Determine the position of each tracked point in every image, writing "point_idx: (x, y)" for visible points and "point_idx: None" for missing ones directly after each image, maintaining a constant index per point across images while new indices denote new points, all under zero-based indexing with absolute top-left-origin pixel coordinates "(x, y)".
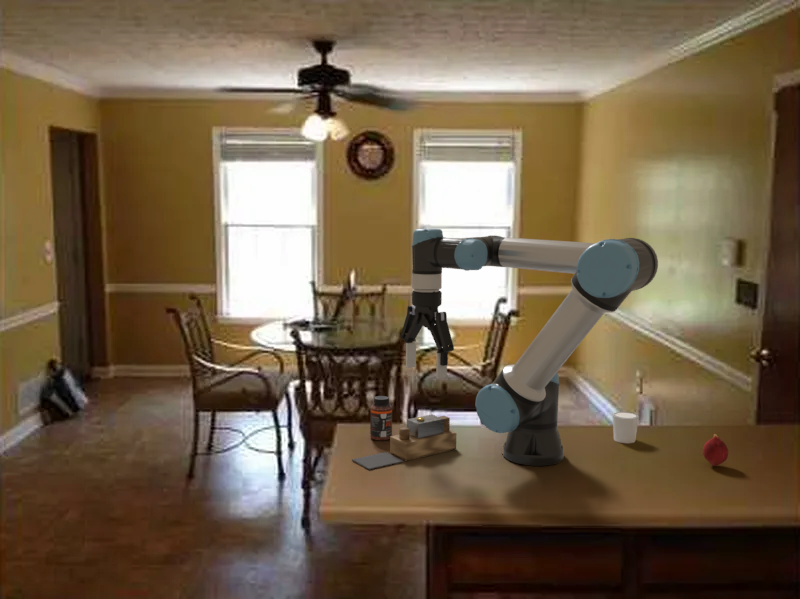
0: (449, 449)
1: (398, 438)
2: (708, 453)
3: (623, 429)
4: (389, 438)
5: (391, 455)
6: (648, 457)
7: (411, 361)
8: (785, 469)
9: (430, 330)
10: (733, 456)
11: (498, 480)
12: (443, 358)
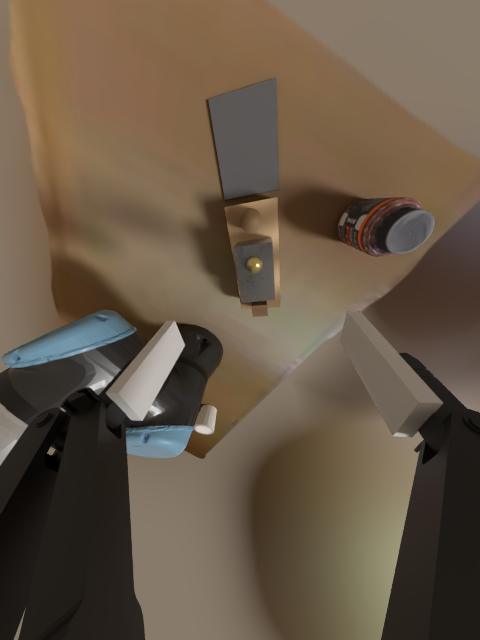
0: None
1: (257, 208)
2: None
3: (199, 415)
4: (337, 232)
5: (257, 191)
6: None
7: (353, 341)
8: None
9: (74, 601)
10: None
11: (135, 285)
12: (112, 380)
